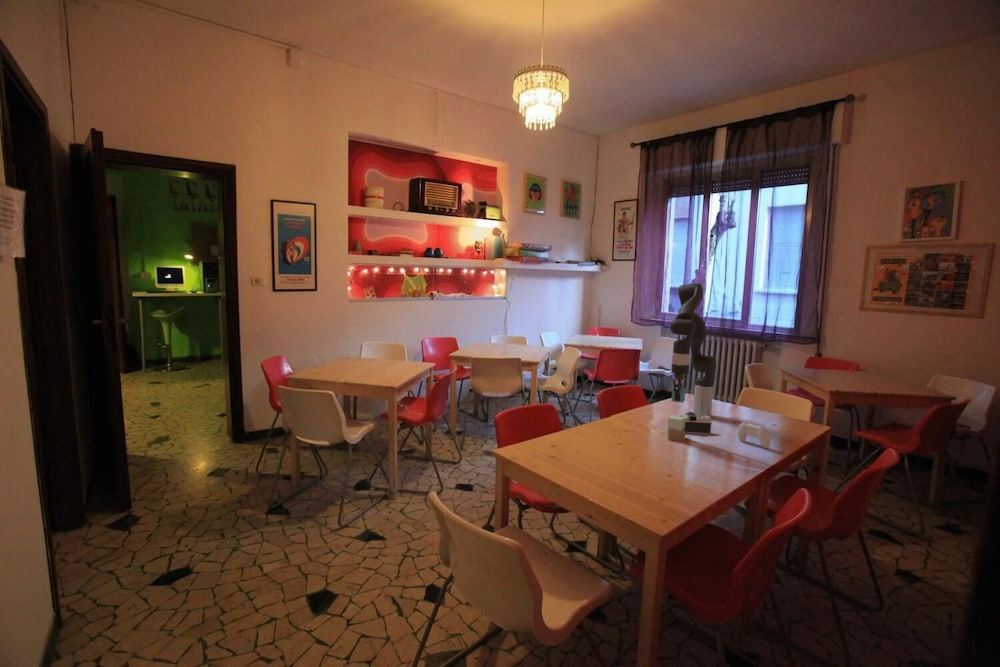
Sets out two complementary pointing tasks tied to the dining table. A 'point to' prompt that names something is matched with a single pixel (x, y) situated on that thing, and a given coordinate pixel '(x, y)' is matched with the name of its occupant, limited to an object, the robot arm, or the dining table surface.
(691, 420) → the camera
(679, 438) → the walnut base block
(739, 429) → the game controller
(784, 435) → the dining table surface
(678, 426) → the sage block
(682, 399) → the teal block
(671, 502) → the dining table surface
